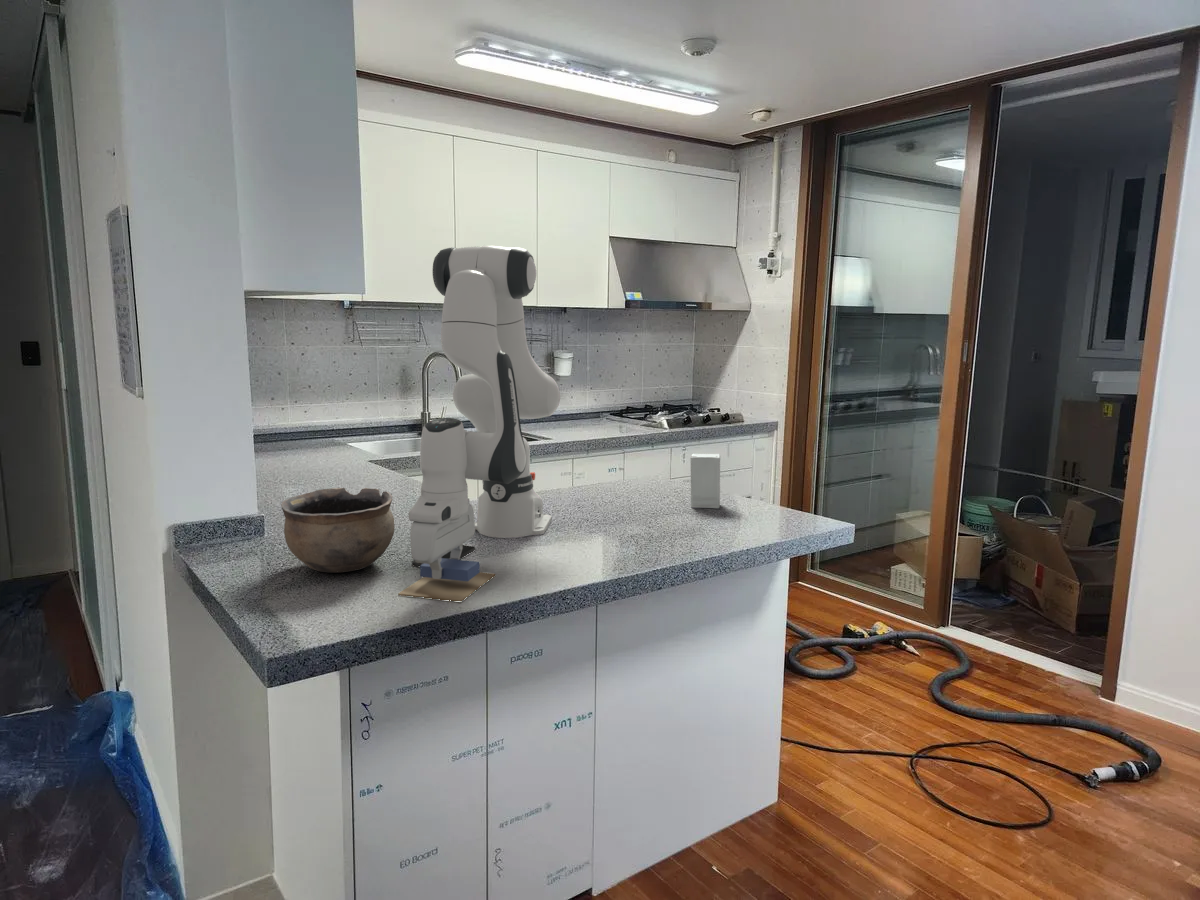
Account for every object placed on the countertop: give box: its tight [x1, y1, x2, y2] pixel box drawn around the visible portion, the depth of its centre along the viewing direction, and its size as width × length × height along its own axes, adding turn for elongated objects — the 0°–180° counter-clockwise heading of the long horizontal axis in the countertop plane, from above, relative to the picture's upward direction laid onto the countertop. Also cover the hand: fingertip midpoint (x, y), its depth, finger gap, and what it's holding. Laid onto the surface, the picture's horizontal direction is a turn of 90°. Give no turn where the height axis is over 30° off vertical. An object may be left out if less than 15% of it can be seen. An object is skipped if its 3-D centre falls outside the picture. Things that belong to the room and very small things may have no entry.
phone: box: [411, 544, 476, 567], centre depth 168 cm, size 8×1×15 cm
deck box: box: [419, 558, 481, 581], centre depth 150 cm, size 6×2×10 cm
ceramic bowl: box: [280, 487, 396, 573], centre depth 159 cm, size 22×22×15 cm
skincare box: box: [690, 453, 721, 509], centre depth 216 cm, size 8×6×15 cm
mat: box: [397, 571, 497, 602], centre depth 150 cm, size 16×13×1 cm
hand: (446, 572), depth 150 cm, fingers closed on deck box, 5 cm apart
